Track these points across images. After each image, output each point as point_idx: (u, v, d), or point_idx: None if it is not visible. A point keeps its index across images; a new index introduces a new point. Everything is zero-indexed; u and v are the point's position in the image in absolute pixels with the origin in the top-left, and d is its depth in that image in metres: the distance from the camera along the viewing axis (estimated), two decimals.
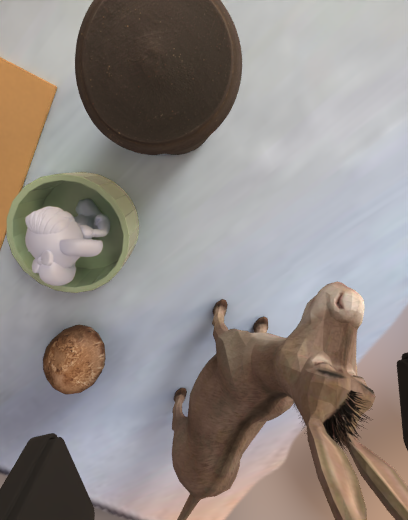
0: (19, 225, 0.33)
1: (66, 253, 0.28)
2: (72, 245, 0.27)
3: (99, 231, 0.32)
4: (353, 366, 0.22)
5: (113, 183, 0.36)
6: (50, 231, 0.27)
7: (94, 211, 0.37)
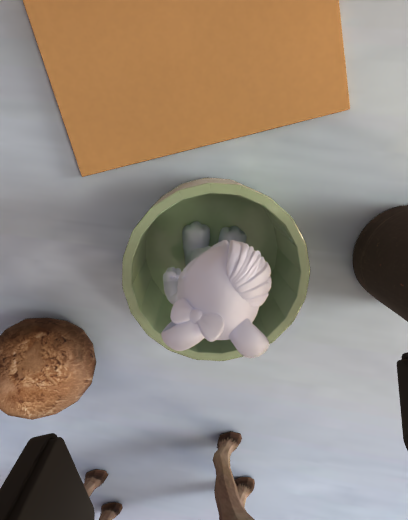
0: None
1: (237, 341, 0.16)
2: (257, 343, 0.16)
3: None
4: None
5: None
6: (248, 298, 0.16)
7: None
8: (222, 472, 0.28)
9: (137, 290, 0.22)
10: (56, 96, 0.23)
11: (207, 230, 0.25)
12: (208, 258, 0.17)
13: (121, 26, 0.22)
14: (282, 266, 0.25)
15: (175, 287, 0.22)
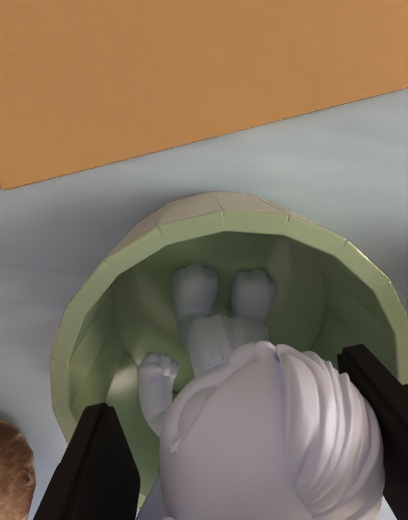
0: None
1: None
2: None
3: None
4: None
5: None
6: None
7: (265, 316, 0.16)
8: None
9: (86, 404, 0.12)
10: None
11: (213, 278, 0.15)
12: (234, 412, 0.07)
13: None
14: (339, 339, 0.15)
15: (159, 398, 0.12)
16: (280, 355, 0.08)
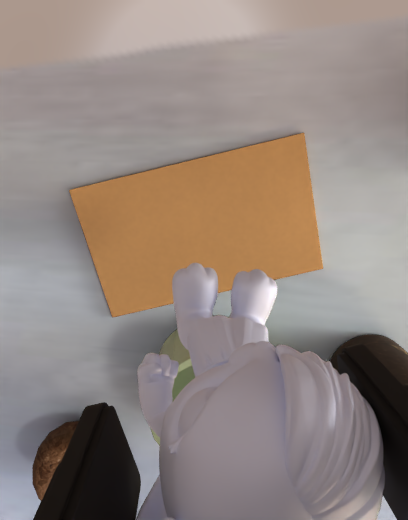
0: None
1: None
2: None
3: None
4: None
5: None
6: None
7: (265, 316, 0.16)
8: None
9: None
10: (94, 262, 0.30)
11: (213, 278, 0.15)
12: (234, 412, 0.07)
13: (146, 214, 0.29)
14: None
15: (159, 398, 0.12)
16: (280, 355, 0.08)
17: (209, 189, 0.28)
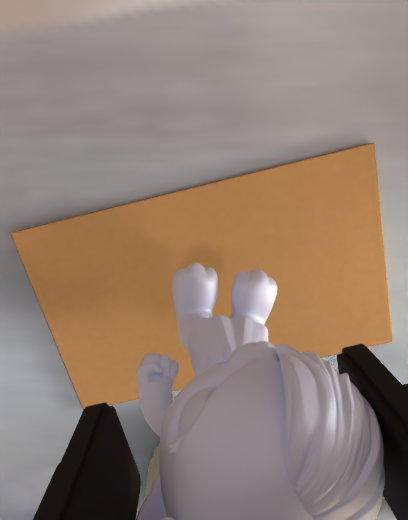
0: None
1: None
2: None
3: None
4: None
5: None
6: None
7: (265, 316, 0.16)
8: None
9: None
10: (54, 336, 0.20)
11: (213, 278, 0.15)
12: (234, 412, 0.07)
13: (130, 268, 0.19)
14: None
15: (159, 398, 0.12)
16: (280, 355, 0.08)
17: (225, 230, 0.19)
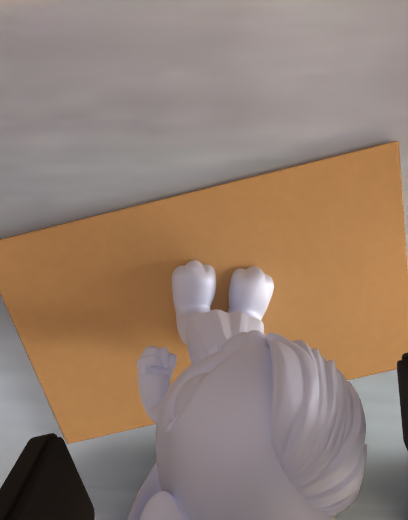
0: None
1: None
2: None
3: None
4: None
5: None
6: (326, 505, 0.07)
7: (262, 312, 0.16)
8: None
9: None
10: (32, 361, 0.18)
11: (211, 275, 0.16)
12: (225, 393, 0.07)
13: (118, 284, 0.17)
14: None
15: (158, 388, 0.12)
16: (270, 342, 0.08)
17: (227, 241, 0.16)
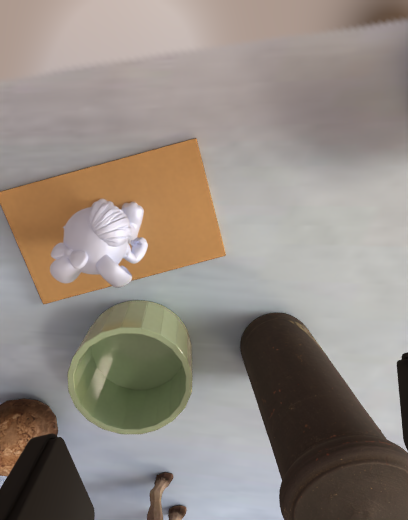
0: None
1: (99, 270, 0.23)
2: (112, 271, 0.23)
3: (133, 258, 0.28)
4: None
5: None
6: (105, 239, 0.23)
7: (137, 223, 0.33)
8: (153, 505, 0.39)
9: (80, 390, 0.33)
10: (23, 255, 0.34)
11: None
12: (79, 213, 0.24)
13: (65, 212, 0.33)
14: None
15: None
16: None
17: (118, 189, 0.33)
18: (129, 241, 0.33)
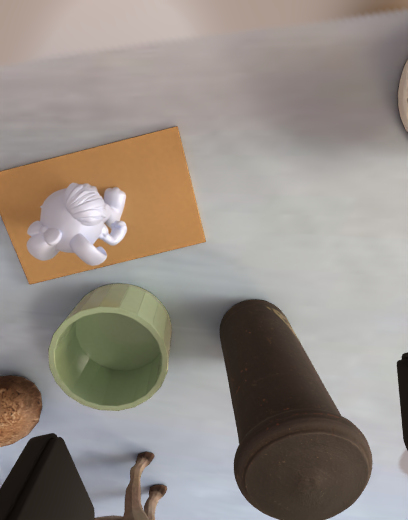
0: None
1: (73, 248, 0.25)
2: (85, 249, 0.24)
3: (111, 240, 0.30)
4: None
5: None
6: (78, 219, 0.24)
7: (119, 208, 0.34)
8: (132, 482, 0.40)
9: (61, 366, 0.34)
10: (10, 236, 0.35)
11: (93, 189, 0.33)
12: (56, 194, 0.25)
13: None
14: None
15: None
16: None
17: (102, 174, 0.34)
18: (111, 225, 0.34)
